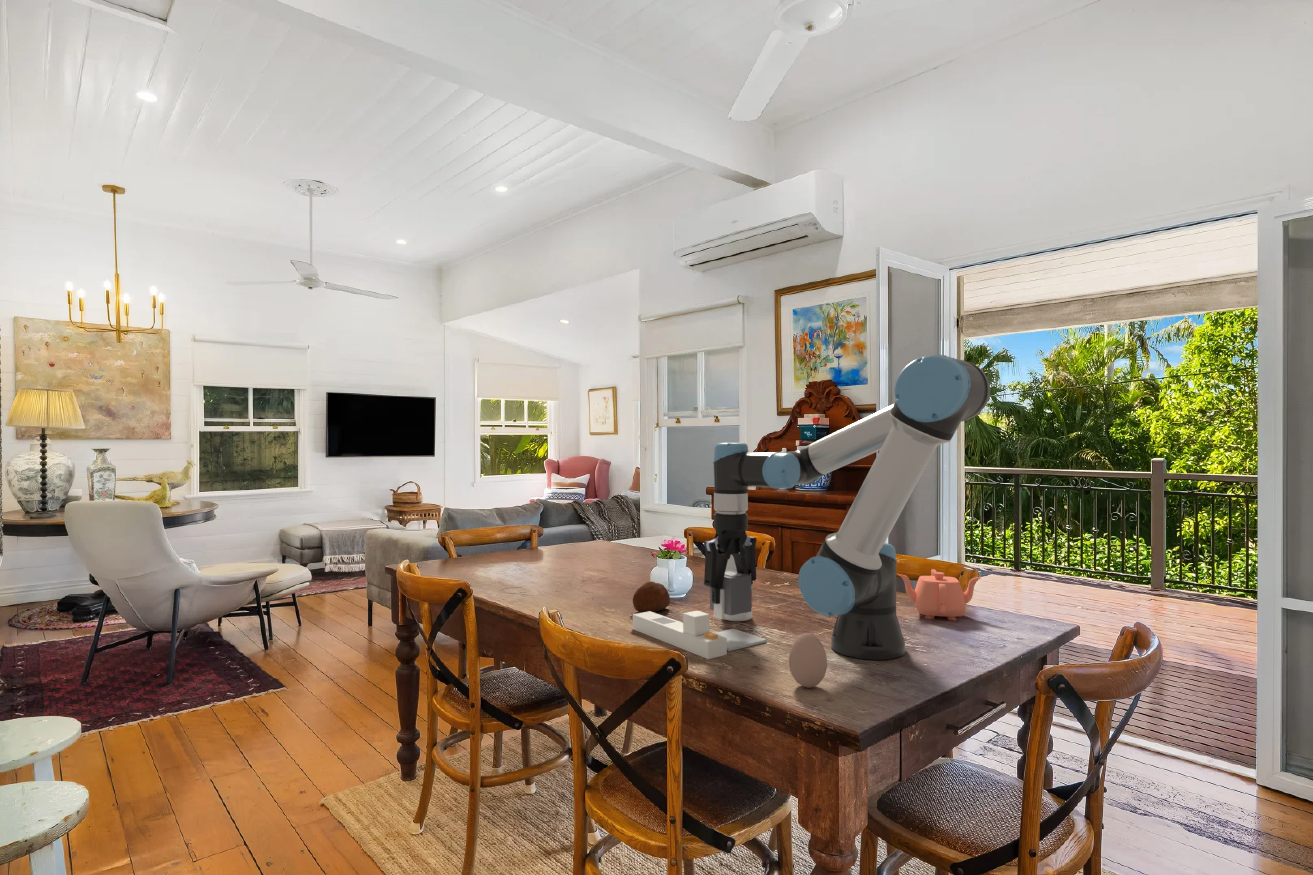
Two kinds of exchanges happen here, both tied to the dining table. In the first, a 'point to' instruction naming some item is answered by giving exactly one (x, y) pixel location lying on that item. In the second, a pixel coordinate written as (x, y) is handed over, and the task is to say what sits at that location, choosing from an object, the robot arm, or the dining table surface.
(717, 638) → the power strip
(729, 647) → the mat
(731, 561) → the milk bottle
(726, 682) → the dining table surface
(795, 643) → the egg
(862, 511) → the robot arm
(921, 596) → the teapot
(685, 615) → the white plug
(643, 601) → the potato
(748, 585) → the block
